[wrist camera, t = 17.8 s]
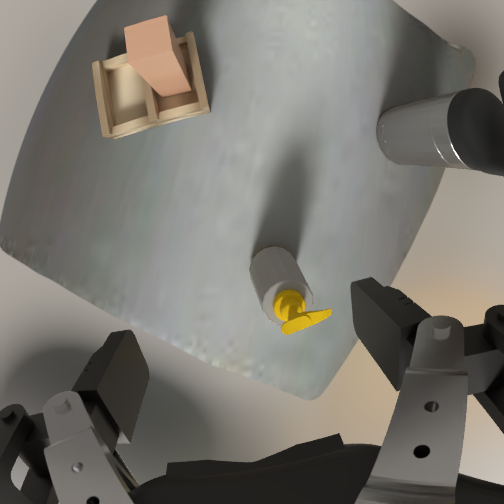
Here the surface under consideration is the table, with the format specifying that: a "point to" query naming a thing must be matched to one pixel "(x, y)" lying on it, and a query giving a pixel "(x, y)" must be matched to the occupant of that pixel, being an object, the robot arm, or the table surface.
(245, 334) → the table surface
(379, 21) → the table surface
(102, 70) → the rack
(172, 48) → the clay bar
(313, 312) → the soap bottle
